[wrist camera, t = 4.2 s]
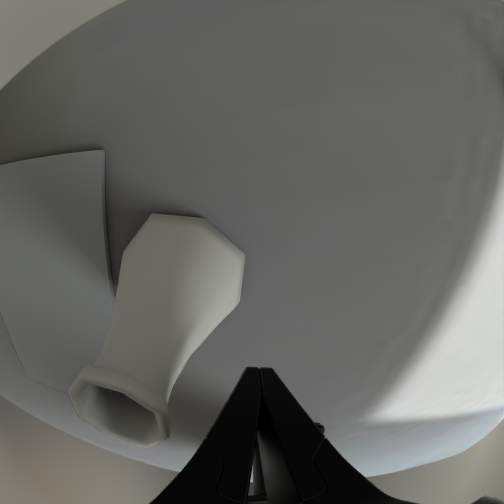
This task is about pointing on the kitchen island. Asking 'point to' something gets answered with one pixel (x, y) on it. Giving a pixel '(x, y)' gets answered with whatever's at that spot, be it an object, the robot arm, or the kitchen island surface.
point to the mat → (55, 264)
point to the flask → (158, 324)
